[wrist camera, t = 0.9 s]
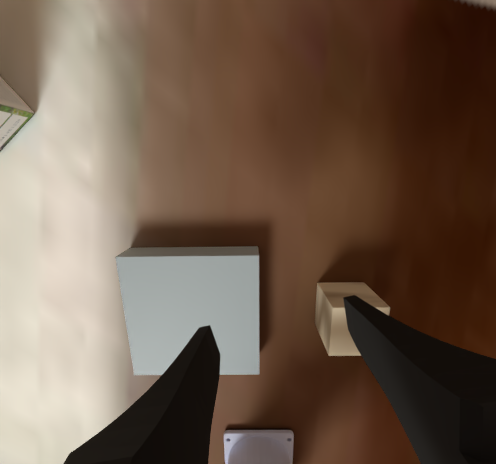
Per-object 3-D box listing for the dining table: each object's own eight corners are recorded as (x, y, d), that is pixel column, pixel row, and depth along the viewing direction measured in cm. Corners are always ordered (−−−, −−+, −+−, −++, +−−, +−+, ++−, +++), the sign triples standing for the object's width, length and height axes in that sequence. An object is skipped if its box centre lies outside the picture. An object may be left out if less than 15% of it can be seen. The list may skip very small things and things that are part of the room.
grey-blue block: (258, 351, 25) (259, 374, 22) (147, 352, 25) (134, 374, 23) (257, 244, 22) (259, 255, 19) (132, 246, 23) (115, 256, 20)
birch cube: (358, 322, 24) (383, 355, 20) (314, 322, 24) (328, 355, 20) (363, 281, 23) (390, 307, 18) (317, 282, 23) (332, 307, 19)
